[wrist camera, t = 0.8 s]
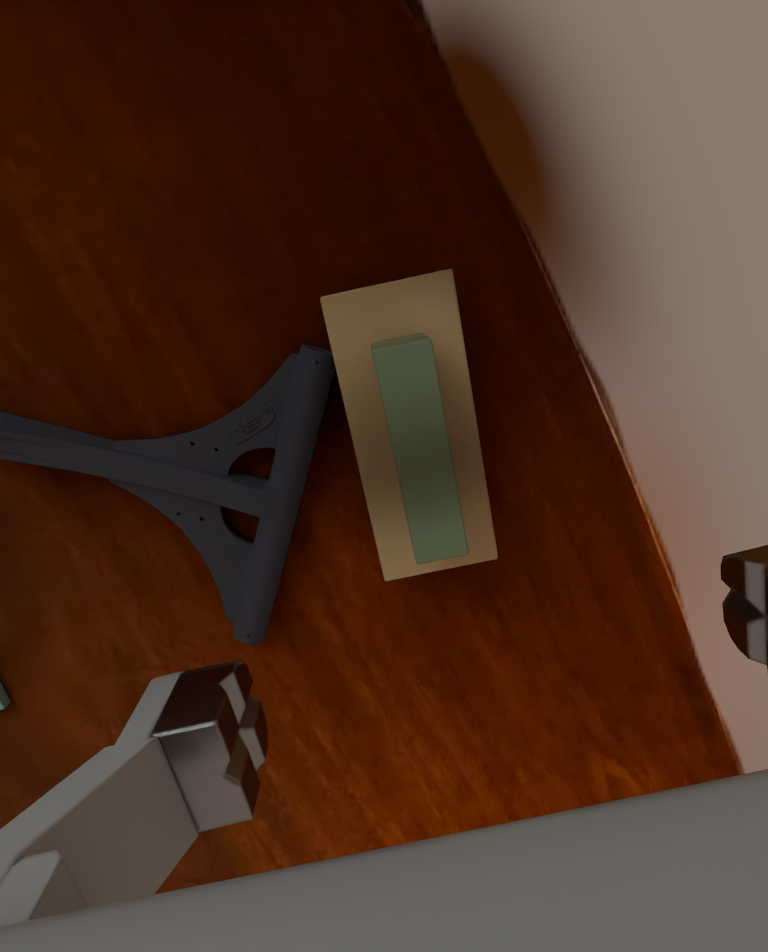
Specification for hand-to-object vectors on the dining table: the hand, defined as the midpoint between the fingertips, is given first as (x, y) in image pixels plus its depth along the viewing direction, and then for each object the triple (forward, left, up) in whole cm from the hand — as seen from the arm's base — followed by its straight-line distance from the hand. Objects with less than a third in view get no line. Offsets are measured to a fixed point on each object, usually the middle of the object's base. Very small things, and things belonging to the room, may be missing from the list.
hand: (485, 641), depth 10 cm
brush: (0, 0, -18) cm, 18 cm away
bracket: (-1, -12, -18) cm, 21 cm away
